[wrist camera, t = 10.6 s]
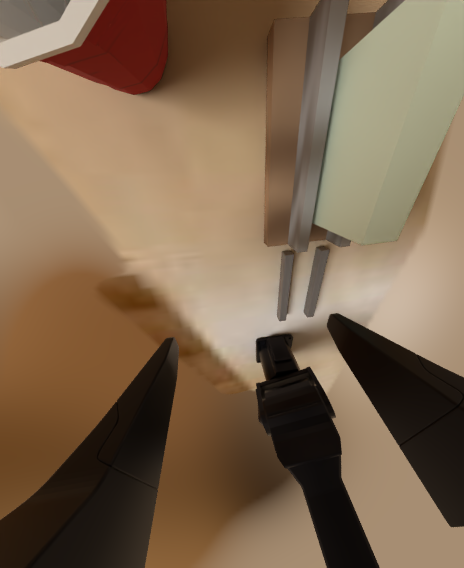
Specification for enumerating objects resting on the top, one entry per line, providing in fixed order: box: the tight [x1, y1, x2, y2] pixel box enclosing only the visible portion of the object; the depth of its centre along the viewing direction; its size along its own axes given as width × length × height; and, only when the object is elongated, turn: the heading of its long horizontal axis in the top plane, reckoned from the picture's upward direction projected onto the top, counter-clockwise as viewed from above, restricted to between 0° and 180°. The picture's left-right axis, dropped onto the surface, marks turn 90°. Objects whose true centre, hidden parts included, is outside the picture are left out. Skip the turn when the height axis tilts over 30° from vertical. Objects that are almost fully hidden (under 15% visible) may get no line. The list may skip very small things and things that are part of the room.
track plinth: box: [264, 0, 405, 253], centre depth 14 cm, size 15×10×4 cm, turn 5°
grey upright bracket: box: [277, 246, 329, 321], centre depth 23 cm, size 11×5×1 cm, turn 5°
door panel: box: [312, 0, 464, 245], centre depth 11 cm, size 10×2×8 cm, turn 5°
